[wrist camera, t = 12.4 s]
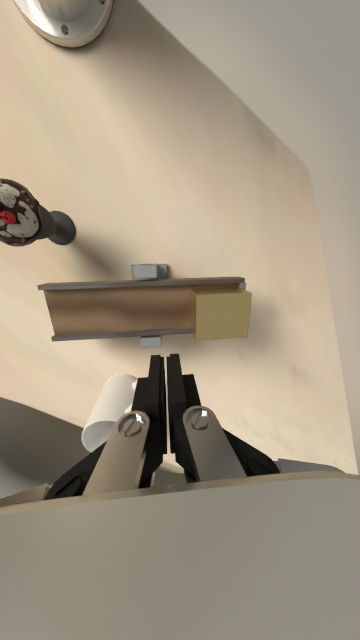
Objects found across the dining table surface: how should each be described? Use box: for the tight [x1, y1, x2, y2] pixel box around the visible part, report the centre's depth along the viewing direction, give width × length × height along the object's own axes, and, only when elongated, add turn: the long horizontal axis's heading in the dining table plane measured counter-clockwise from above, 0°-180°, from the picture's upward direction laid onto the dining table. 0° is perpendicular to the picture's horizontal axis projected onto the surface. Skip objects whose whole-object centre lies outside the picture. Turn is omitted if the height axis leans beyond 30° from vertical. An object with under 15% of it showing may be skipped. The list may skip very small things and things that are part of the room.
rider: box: [190, 287, 252, 340], centre depth 26 cm, size 6×7×5 cm
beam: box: [37, 277, 246, 341], centre depth 29 cm, size 8×28×6 cm, turn 91°
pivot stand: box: [131, 264, 167, 348], centre depth 31 cm, size 12×6×8 cm, turn 1°
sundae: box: [0, 179, 75, 246], centre depth 23 cm, size 7×7×15 cm
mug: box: [82, 374, 137, 453], centre depth 35 cm, size 8×12×12 cm
